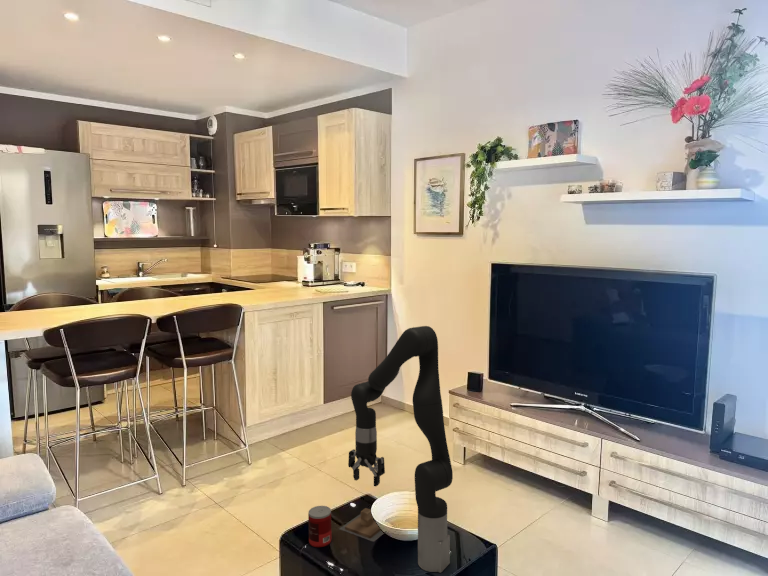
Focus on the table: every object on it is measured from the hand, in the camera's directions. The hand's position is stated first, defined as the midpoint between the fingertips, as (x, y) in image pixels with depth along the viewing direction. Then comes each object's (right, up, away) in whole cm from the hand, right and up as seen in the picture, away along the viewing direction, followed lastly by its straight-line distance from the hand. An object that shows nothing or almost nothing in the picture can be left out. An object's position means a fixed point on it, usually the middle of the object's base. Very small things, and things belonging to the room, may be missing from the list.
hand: (366, 482), depth 190 cm
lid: (0, -16, +1) cm, 16 cm away
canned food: (-15, -18, -7) cm, 25 cm away
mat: (0, -17, +1) cm, 17 cm away
